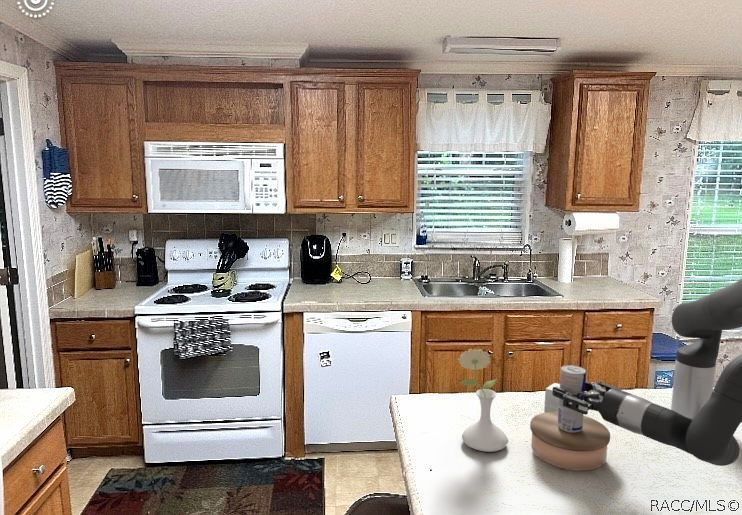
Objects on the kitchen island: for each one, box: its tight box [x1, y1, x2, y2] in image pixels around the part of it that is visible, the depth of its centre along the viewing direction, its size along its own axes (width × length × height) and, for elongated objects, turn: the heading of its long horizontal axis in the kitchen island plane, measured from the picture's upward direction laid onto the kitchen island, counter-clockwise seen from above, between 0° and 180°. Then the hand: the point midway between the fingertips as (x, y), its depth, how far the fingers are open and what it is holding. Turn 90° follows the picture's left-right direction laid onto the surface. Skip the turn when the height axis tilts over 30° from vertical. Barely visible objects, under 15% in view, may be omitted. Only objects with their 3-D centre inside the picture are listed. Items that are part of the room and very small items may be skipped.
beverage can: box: [558, 365, 587, 433], centre depth 126 cm, size 6×6×15 cm
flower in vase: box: [457, 348, 509, 453], centre depth 133 cm, size 13×11×25 cm
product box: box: [543, 382, 560, 413], centre depth 151 cm, size 6×6×7 cm
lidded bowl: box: [529, 411, 611, 471], centre depth 128 cm, size 18×18×7 cm
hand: (564, 386), depth 127 cm, fingers open, 8 cm apart
